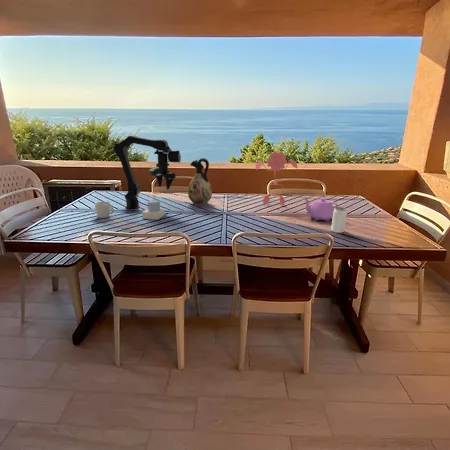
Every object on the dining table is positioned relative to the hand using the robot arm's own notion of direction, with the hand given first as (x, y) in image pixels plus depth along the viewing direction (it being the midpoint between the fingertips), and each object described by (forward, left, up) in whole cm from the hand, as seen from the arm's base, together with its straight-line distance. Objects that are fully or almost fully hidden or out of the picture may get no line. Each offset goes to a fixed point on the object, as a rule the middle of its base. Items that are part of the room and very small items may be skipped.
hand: (163, 188), depth 208 cm
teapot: (+92, +8, -13) cm, 93 cm away
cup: (-24, -26, -13) cm, 38 cm away
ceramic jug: (+18, +17, -13) cm, 28 cm away
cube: (+1, -16, -10) cm, 19 cm away
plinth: (+1, -17, -14) cm, 21 cm away
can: (+101, -12, -13) cm, 103 cm away
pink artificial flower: (+64, +27, -13) cm, 71 cm away
